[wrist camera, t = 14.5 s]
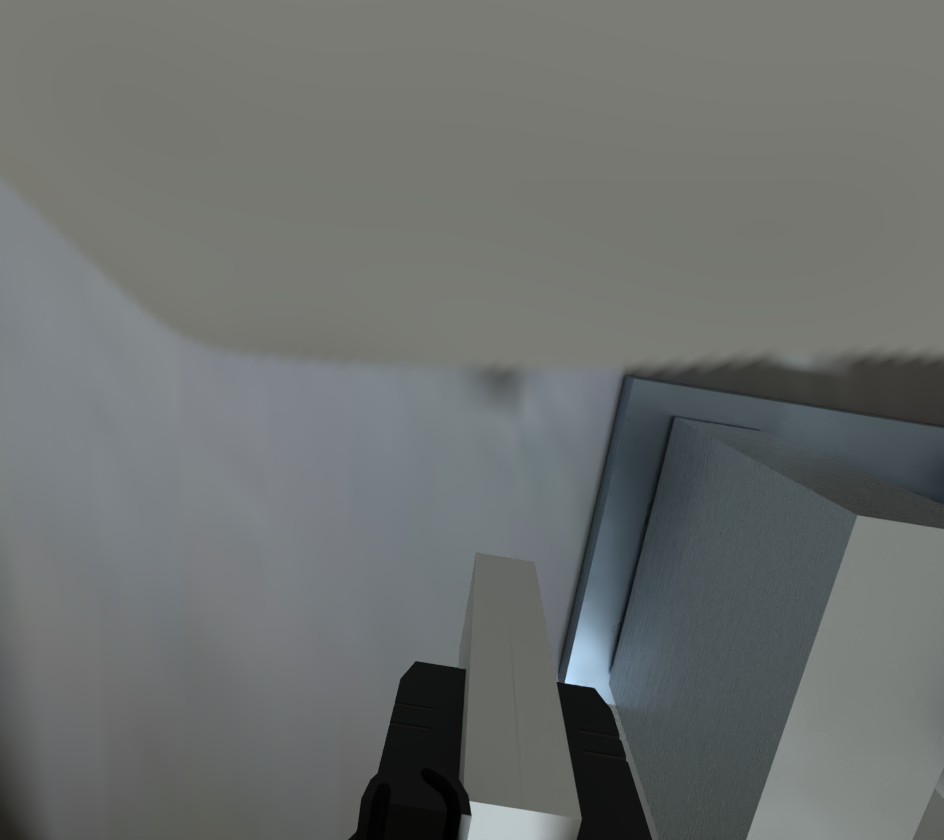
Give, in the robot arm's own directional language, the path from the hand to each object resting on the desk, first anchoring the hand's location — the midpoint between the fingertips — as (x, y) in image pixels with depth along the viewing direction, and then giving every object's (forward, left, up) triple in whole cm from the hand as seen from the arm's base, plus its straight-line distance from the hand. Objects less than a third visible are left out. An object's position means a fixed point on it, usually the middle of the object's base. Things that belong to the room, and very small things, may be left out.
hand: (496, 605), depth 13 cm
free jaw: (+7, 0, -4) cm, 8 cm away
